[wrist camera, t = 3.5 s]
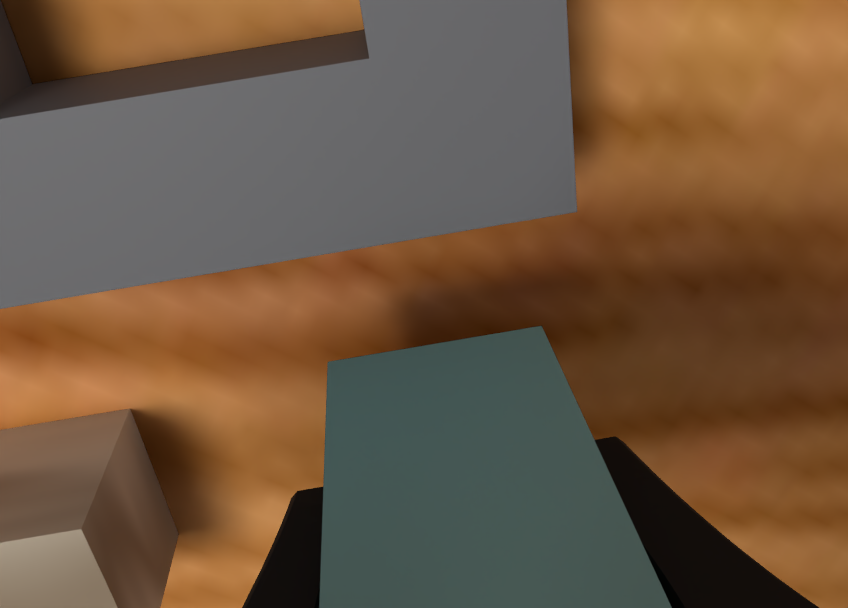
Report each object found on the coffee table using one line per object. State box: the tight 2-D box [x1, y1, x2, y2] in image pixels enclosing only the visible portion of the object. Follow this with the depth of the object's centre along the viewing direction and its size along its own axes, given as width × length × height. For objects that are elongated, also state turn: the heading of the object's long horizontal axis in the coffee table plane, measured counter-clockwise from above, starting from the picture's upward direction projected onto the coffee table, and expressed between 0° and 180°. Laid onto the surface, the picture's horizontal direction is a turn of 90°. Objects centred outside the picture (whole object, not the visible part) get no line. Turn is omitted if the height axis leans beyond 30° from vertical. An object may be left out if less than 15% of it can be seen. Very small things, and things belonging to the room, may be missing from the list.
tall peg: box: [319, 326, 672, 608], centre depth 11 cm, size 4×4×6 cm
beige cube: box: [0, 409, 179, 608], centre depth 15 cm, size 4×4×4 cm
